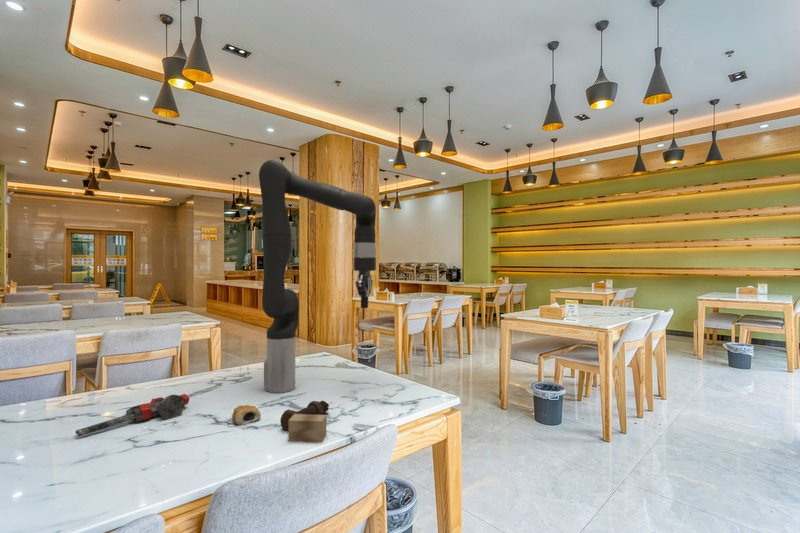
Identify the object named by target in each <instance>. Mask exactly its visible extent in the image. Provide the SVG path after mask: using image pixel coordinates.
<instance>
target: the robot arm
mask: <svg viewBox="0 0 800 533" xmlns="http://www.w3.org/2000/svg"><path fill="white" fill-rule="evenodd" d="M258 179H259V180H258V181H259V185H260V187H259V188H260V194H261V203H262V205H261V207H262V214H261V215H262V219H261V220H262V224H261V225H262V232H261V233H262V252H263V257H262V258H263V280H262V281H263V282H262V291H261V292H262V296H261V306H262V310H263V311H264V314H265V315H266V316H267V317H269V318H271V319H273V321H272V324H271V325H270V326H269V327H268V328H267V330H266V360H264V362H263V391H266V392H269V393H275V394H277V393H287V392H291V391H293V390H295V389H296V333H297V330H298V328H299V327H298V326H299V316H300V315H299V311H300V303H299V302H300V301H299V297H298V295H297V293H296V292H295V290H293V289H291V288H285V274H286V269H287V266H288V263H289V260H290V257H291V255H292V250H293V241H292V237H293V236H292V227H291V223H290V218H289V215H288V210H287V207H286V206H287V205H286V194H287V195H292V196H298V197H302V198H305V199H308V200H311V201H313V202H316V203H318V204H321V205H323V206H327V207H329V208H333V209H336V210H338V211H346V212H348V213H351V214H353V215H355V228H354V245H353V271H356V272H357V271H358V276H357V280H356V282H355V285H356V289H357V293H358V296H359V297H360V309H368V308H369V298H370V295H371V292H372V287H373V282H374V280H373V278H372V276H371V272H373V271H376V270H377V246H376V218H377V217H376V214H377V208H376V207H377V206H376V203H375V200H373V199H372V198H371V197H369V196H367V195H365V194H361V193H357V192H354V191H348V190H346V189H343V188H341V187H338V186H335V185H333V184H328V183H324V182H320V181H315V180H311V179H307V178H303V177H301V176H300V175H297V174H295V173H293V172H292V171H290V170H289V169H288V168H287V167H286V166H285V165H284V164H282V162H279V161H278V160H275V159H274V160H273V159H269V160H267V161H265V162H263V163H262V165H261V166H260V168H259V171H258Z"/></svg>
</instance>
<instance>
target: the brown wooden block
mask: <svg viewBox="0 0 800 533" xmlns="http://www.w3.org/2000/svg"><path fill="white" fill-rule="evenodd" d="M287 433H288V435H287V436H288V437H287V438H288V439H287V440H288V442H298V441H302V443H304V442H306V443H323V441H324V440H325V438H326V436H327V414H323V415H310V414H294V415H293V416H292V417H291V418H290V419H289V432H287Z"/></svg>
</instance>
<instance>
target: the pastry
mask: <svg viewBox="0 0 800 533" xmlns="http://www.w3.org/2000/svg"><path fill="white" fill-rule="evenodd" d="M261 415H262V414H261V411H260V409H258V408H257V407H256V406H255V405H249V404H246V405H245V404H244V405H238V406H236V407H235V408H234V409H233V412H232V415H231V416H232V419H233V421H234V423H235V424H236V425H238V426H241V425H242V426H243V425H247V424H251V423H255V422H258V421H259V420H260V419H261Z"/></svg>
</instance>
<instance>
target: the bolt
mask: <svg viewBox="0 0 800 533" xmlns="http://www.w3.org/2000/svg"><path fill="white" fill-rule="evenodd" d="M329 409H330V405H329V403H327V402H326V400H321V401H318V400H312V401H310V402H309V403H308V405H307V406H306V407H303V408H302V409H299V410H293V409H286V410H284V411H283V413H282V414H281V416H280V426H281V428H282V430H283V432H286V431H288V432H287V433H289V419H290V418H291V417H292V416H293V415H294V414H310V415H324V413H326V412H328V411H329Z"/></svg>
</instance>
